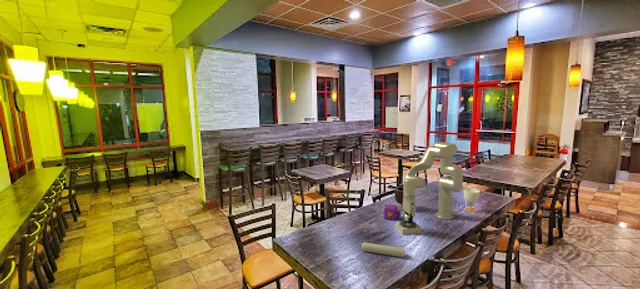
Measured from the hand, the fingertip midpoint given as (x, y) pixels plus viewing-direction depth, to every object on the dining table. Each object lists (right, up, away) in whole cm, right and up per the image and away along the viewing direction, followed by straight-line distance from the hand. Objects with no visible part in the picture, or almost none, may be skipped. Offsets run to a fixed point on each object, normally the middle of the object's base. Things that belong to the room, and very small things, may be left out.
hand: (408, 221), depth 191 cm
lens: (0, 0, 0) cm, 0 cm away
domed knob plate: (0, -7, +1) cm, 7 cm away
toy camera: (-5, -4, +23) cm, 24 cm away
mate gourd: (+10, -1, +42) cm, 43 cm away
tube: (-24, -12, -27) cm, 38 cm away
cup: (+62, -1, +35) cm, 71 cm away
